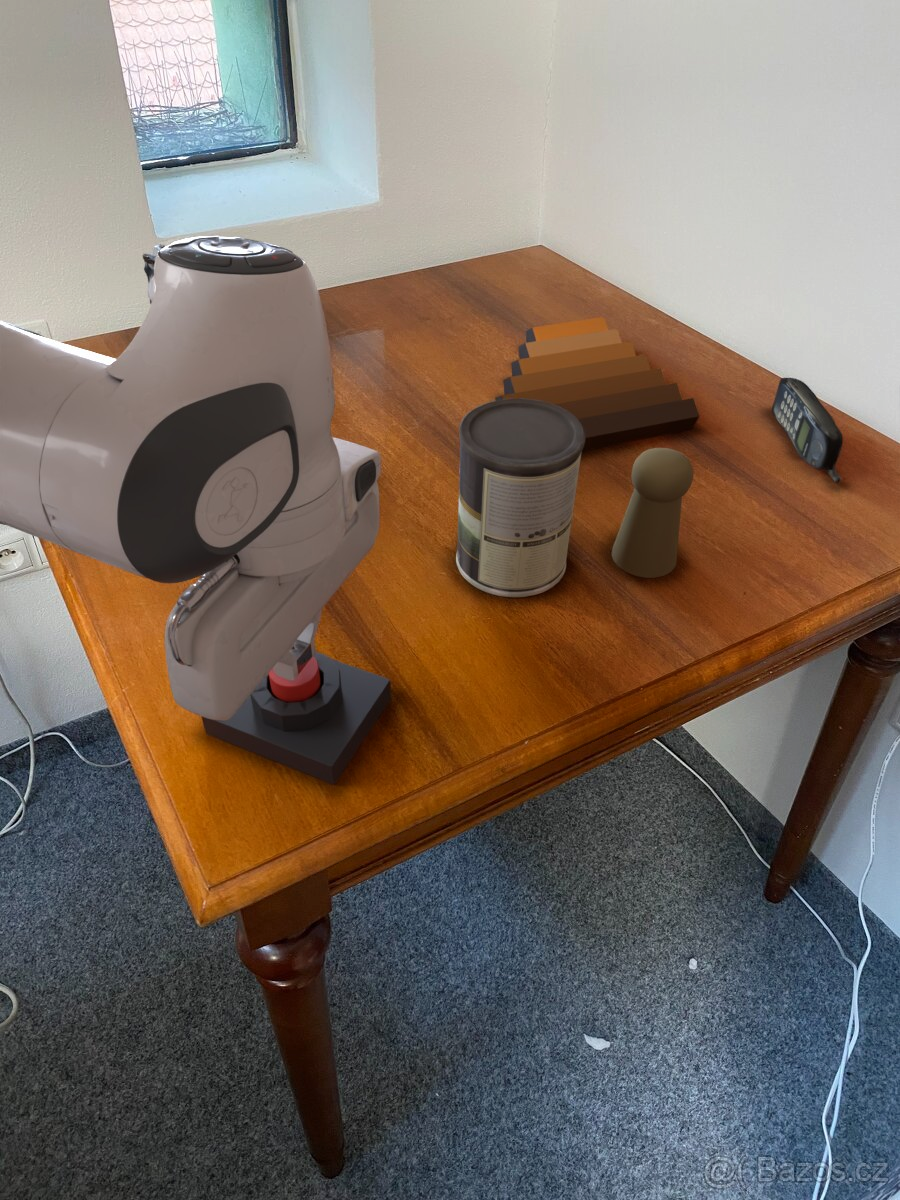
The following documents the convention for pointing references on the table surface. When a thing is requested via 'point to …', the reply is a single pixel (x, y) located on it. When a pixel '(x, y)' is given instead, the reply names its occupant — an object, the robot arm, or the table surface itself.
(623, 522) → the game pawn
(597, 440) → the pan flute
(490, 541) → the coffee can
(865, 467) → the table surface
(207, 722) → the button block
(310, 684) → the button
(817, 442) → the mobile phone
